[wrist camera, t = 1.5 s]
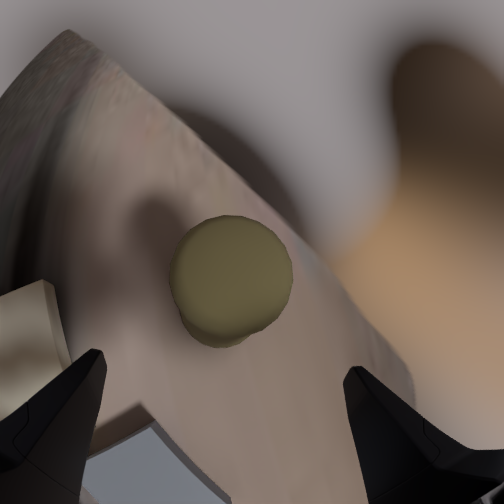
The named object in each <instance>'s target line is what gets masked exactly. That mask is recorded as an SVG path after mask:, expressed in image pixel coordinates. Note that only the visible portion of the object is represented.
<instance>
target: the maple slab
mask: <svg viewBox="0 0 504 504" xmlns="http://www.w3.org/2000/svg"><path fill="white" fill-rule="evenodd" d="M71 364H72V362H71V359H70V355H69V352H68V348H67V344H66V341H65V337H64V333H63V329H62V324H61V320H60V315H59V310H58V305H57V300H56V294H55V288H54V285H52V284H50V283H49V282H47V281H45V280H43V279H42V280H39V281H37V282H34V283H32V284H29V285H27V286H24V287H22V288H19V289H17V290H15V291H12V292H10V293H7V294H5V295H3V296H0V421H1V420H3V419H4V418H5V417H7V416H8V415H10V414H11V413H12V412H14V411H15V410H16V409H17V408H19V407H20V406H21V405H22V404H24V403H25V402H26V401H28V399H30V398H31V397H32V396H33V395H34V394H36V393H37V392H38V391H39V390H40V389H42V388H43V387H44V386H45V385H46V384H48V383H49V382H50V381H51V380H53V379H54V378H55V377H56V376H57V375H59V374H60V373H61V372H62V371H64V370H65V369H66V368H67V367H68V366H70V365H71ZM95 427H96V426H95Z"/></svg>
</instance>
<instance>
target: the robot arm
mask: <svg viewBox="0 0 504 504" xmlns="http://www.w3.org/2000/svg"><path fill="white" fill-rule="evenodd" d="M106 373H107V364H106V361H105V358H104V355H103V352H102V351H101V350H98V349H93V348H92V349H90V350H88V351H87V352H86V353H85V354H83V355H82V356H81V357H80V358H78V359H77V360H76V361H75V362H73V363H72V364H71V365H70V366H68V367H67V368H66V369H65V370H64V371H62V372H61V373H60V374H59V375H57V376H56V377H55V378H54V379H53V380H51V381H50V382H49V383H48V384H46V385H45V386H44V387H43V388H42V389H40V390H39V391H38V392H37V393H36V394H34V395H33V396H32V397H31V398H30V399H28V401H26V402H25V403H24V404H22V405H21V406H20V407H19V408H17V409H16V410H15V411H14V412H12V413H11V414H10V415H8V416H7V417H5V418H4V419H3V420H1V421H0V504H79V496H80V491H81V485H82V480H83V475H84V470H85V465H86V460H87V456H88V452H89V447H90V443H91V439H92V435H93V431H94V428H95V424H96V420H97V417H98V413H99V409H100V405H101V400H102V394H103V389H104V383H105V378H106ZM343 388H344V394H345V401H346V407H347V414H348V419H349V423H350V427H351V431H352V435H353V439H354V443H355V446H356V450H357V454H358V459H359V463H360V467H361V471H362V475H363V480H364V484H365V489H366V493H367V498H368V503H369V504H504V449H500V450H473V449H470V448H467V447H465V446H463V445H462V444H460V443H459V442H457V441H456V440H454V439H453V438H451V437H449V436H448V435H446V434H445V433H443V432H442V431H440V430H439V429H438V428H436V427H435V426H434V425H432V424H431V423H430V422H429V421H427V420H426V419H425V418H423V417H422V416H421V415H420V414H419V413H418V412H416V411H415V410H414V409H413V408H412V407H410V406H409V405H408V404H407V403H406V402H404V401H403V400H402V399H401V398H399V397H398V396H397V395H396V394H395V393H393V392H392V391H391V390H390V389H389V388H387V387H386V386H385V385H384V384H383V383H381V382H380V381H379V380H378V379H377V378H376V377H374V376H373V375H372V374H371V373H370V372H368V371H367V370H366V369H365V368H364V367H362V366H353V367H351V368H350V370H349V371H348V373H347V375H346V377H345V379H344V381H343Z"/></svg>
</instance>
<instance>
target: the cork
mask: <svg viewBox="0 0 504 504" xmlns="http://www.w3.org/2000/svg"><path fill="white" fill-rule="evenodd" d="M169 284H170V287H171V291H172V294H173V298H174V301H175V303H176V304H177V306H178V307H179V309H180V314H181V317H182V320H183V324H184V326H185V328H186V329H187V330H188V332H189V333H190V334H191V336H192V337H194V338H195V339H196V340H198V341H199V342H200V343H202V344H205V345H208V346H211V347H214V348H228V347H231V346H234V345H237V344H240V343H241V342H242V341H244V340H245V339H246V338H248V337H249V336H250V335H251V334H253V333H256V332H259V331H262V330H263V329H265V328H266V327H267V326H268V325H270V324H271V323H272V322H273V321H275V320H276V319H277V318H278V317H279V315H280V314H281V312H282V311H283V309H284V308H285V306H286V304H287V303H288V300H289V296H290V292H291V288H292V284H293V271H292V262H291V259H290V257H289V254H288V252H287V250H286V247H285V245H284V244H283V243H282V242H281V240H280V239H279V238H278V237H277V235H276V234H275V233H274V232H273V231H272V230H270V229H269V228H267V227H266V226H264V225H263V224H261V223H260V222H258V221H255V220H252V219H249V218H246V217H243V216H230V215H223V216H219V217H215V218H211V219H207V220H205V221H203V222H202V223H200V224H198V225H197V226H195V227H193V228H192V229H190V231H189V232H188V233H187V234H186V235H185V236H184V238H183V239H182V240H181V241H180V242H179V244H178V246H177V248H176V251H175V253H174V256H173V258H172V261H171V263H170V278H169Z"/></svg>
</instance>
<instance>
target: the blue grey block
mask: <svg viewBox="0 0 504 504" xmlns="http://www.w3.org/2000/svg"><path fill="white" fill-rule="evenodd" d="M82 485H83V486H84V487H85V488H86V489H87V491H88V492H89V493H90V494H91V495H92V496H93V497H94V498H95V499H96V500H97V501H98V502H99V503H100V504H232V502H231V498H230V496H228V495H227V494H226V493H225V492H224V491H223V490H221V489H220V488H219V487H218V486H217V485H216V484H215V483H214V482H213V481H212V480H210V479H209V478H208V477H207V476H206V475H205V474H204V473H203V472H202V471H201V470H200V469H199V468H198V467H197V466H196V465H195V464H194V463H193V462H192V461H191V460H190V459H189V458H188V457H187V456H186V455H185V453H184V452H183V451H182V450H181V449H180V448H179V447H178V446H177V445H176V444H175V442H174V441H173V440H172V439H171V438H170V437H169V436H168V434H167V433H166V432H165V431H164V430H163V428H162V427H161V426H160V425H159V424H158V422H157V421H156V420H155V421H153V422H151V423H150V424H148V425H146V426H144V427H143V428H141V429H139V430H137V431H136V432H134V433H132V434H130V435H129V436H127V437H125V438H123V439H121V440H119V441H117V442H116V443H114V444H112V445H110V446H108V447H106V448H104V449H102V450H100V451H98V452H96V453H94V454H92V455H90V456H88V457H87V460H86V465H85V470H84V475H83V480H82Z"/></svg>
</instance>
